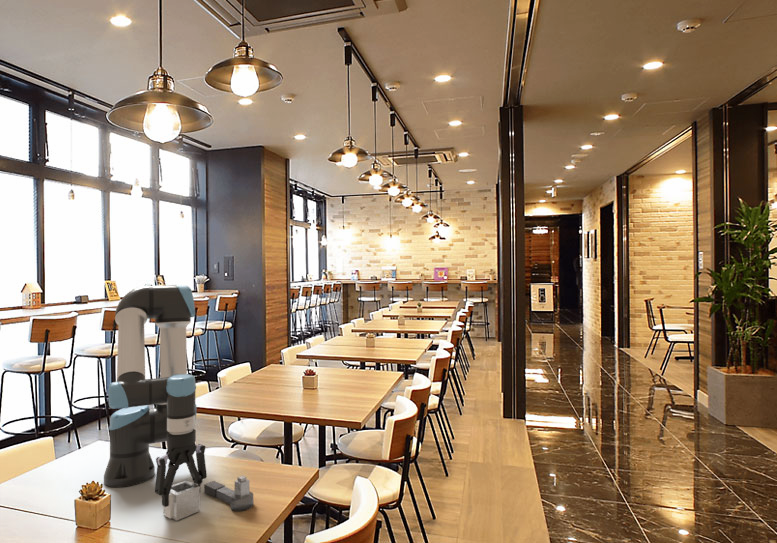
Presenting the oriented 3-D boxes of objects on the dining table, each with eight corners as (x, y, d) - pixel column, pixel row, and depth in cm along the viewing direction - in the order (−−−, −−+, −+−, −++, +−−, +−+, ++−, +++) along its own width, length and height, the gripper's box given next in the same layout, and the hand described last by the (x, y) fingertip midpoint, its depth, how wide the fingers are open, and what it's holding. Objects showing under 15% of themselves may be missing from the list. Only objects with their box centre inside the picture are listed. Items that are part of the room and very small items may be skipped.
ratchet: (199, 494, 149) (199, 466, 149) (218, 487, 154) (217, 460, 154) (239, 513, 137) (239, 483, 137) (257, 505, 142) (257, 476, 142)
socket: (163, 513, 137) (163, 488, 137) (186, 503, 142) (186, 479, 142) (176, 520, 132) (176, 495, 132) (199, 510, 138) (199, 486, 138)
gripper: (153, 443, 127) (153, 530, 127) (220, 424, 143) (220, 501, 143) (139, 437, 132) (139, 521, 132) (205, 419, 147) (205, 494, 148)
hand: (181, 510), depth 137 cm, fingers closed on socket, 7 cm apart
